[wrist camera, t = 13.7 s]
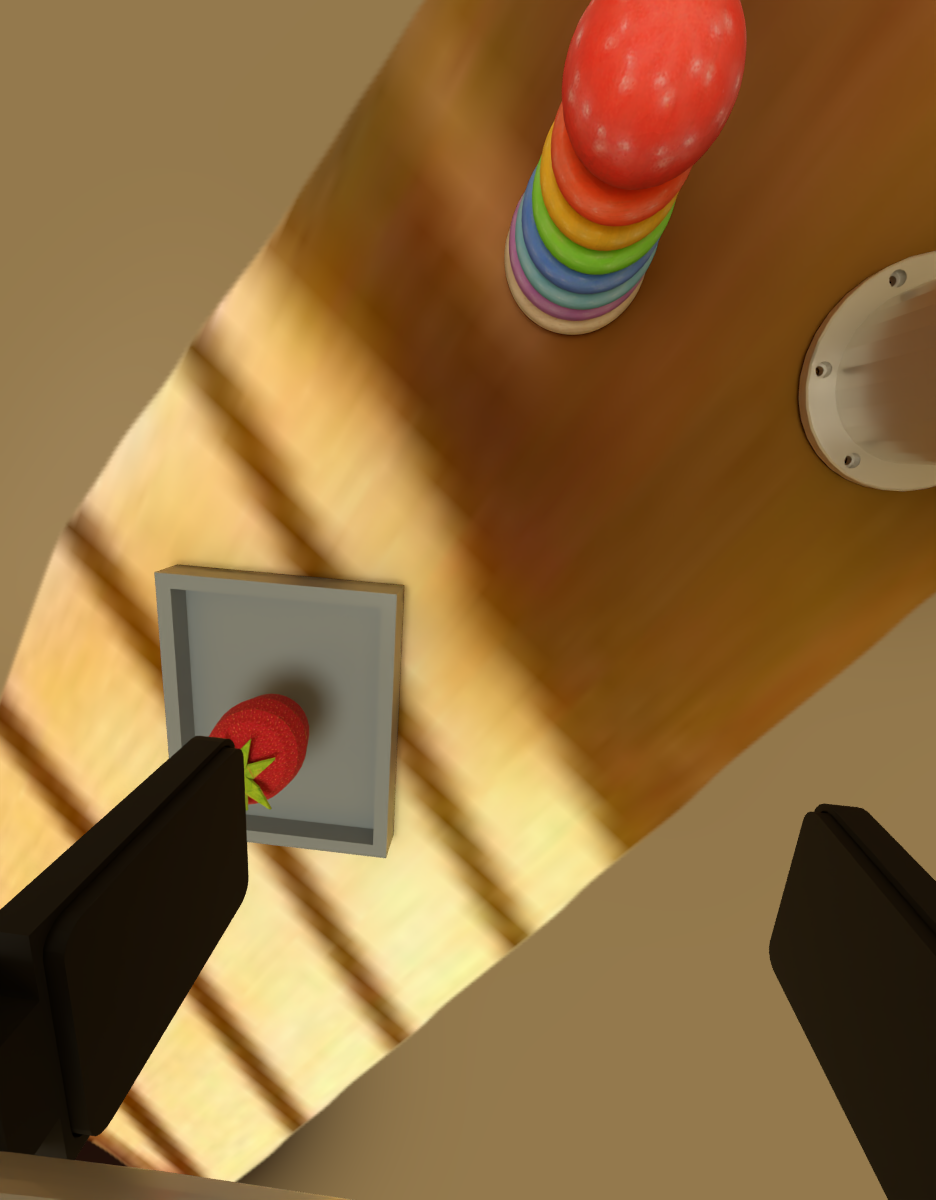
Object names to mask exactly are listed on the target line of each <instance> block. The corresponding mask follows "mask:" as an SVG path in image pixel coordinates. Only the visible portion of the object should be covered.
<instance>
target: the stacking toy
mask: <svg viewBox="0 0 936 1200" xmlns="http://www.w3.org/2000/svg"><path fill="white" fill-rule="evenodd" d="M745 57H746V24H745V18H744V14H743V10H742V6H741V2H740V0H592V1H591V2H590V4H589V5H588V7H587V9H586V10H585V12H584V14H583V15H582V17H581V19H580V21H579V23H578V25H577V28H576V30H575V32H574V35H573V37H572V40H571V43H570V46H569V50H568V53H567V57H566V62H565V66H564V72H563V81H562V102H561V104H560V107H559V109H558V112H557V115H556V118H555V121H554V122H553V124H552V126H551V128H550V130H549V133H548V135H547V138H546V141H545V144H544V147H543V152H542V155H541V158H540V160H539V163H538V165H537V166H536V168H535V170H534V171H533V173H532V176H531V178H530V180H529V182H528V185H527V188H526V190H525V192H524V194H523V195H522V197H521V199H520V201H519V203H518V205H517V207H516V209H515V212H514V215H513V218H512V222H511V226H510V229H509V232H508V235H507V239H506V244H505V272H506V278H507V281H508V285H509V288H510V290H511V293H512V295H513V297H514V299H515V301H516V303H517V304H518V306H519V307H520V309H521V310H522V311H523V312H524V313H525V314H526V316H527V317H529V318H530V319H531V320H532V321H533V322H535V323H536V324H538V325H539V326H541V327H543V328H545V329H547V330H550V331H552V332H556V333H560V334H567V335H576V334H584V333H589V332H592V331H595V330H598V329H600V328H602V327H604V326H606V325H607V324H609V323H610V322H612V321H613V320H615V319H616V318H617V317H618V316H619V315H620V314H621V313H622V312H623V311H624V310H625V309H626V308H627V307H628V306H629V305H630V303H631V302H632V300H633V299H634V297H635V296H636V294H637V292H638V290H639V288H640V286H641V284H642V281H643V278H644V276H645V272H646V270H647V269H648V267H649V265H650V263H651V261H652V259H653V257H654V254H655V252H656V249H657V246H658V241H659V239H660V237H661V235H662V233H663V231H664V229H665V227H666V226H667V224H668V221H669V219H670V216H671V214H672V211H673V208H674V204H675V200H676V198H677V196H678V193H679V190H680V189H681V187H682V186H683V184H684V182H685V181H686V179H687V177H688V175H689V173H690V170H691V168H692V166H693V164H695V163H696V162H697V161H698V160H699V159H700V158H701V157H702V156H703V155H704V153H705V152H706V151H707V150H708V149H709V147H710V146H711V145H712V143H713V142H714V141H715V140H716V138H717V137H718V136H719V134H720V132H721V130H722V129H723V127H724V125H725V123H726V121H727V119H728V117H729V115H730V113H731V111H732V109H733V106H734V104H735V101H736V99H737V96H738V93H739V89H740V86H741V82H742V77H743V72H744V65H745Z"/></svg>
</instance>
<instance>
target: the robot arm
mask: <svg viewBox="0 0 936 1200" xmlns="http://www.w3.org/2000/svg"><path fill="white" fill-rule="evenodd" d="M889 279H890V281H891V284H890V283H889ZM816 368H818V369H819V374H818V376H817V375H816ZM798 399H799V408H800V417H801V421H802V424H803V427H804V430H805V433H806V436H807V439H808V441H809V442H810V444H811V446H812V447H813V449H814V451H815V452H816V454H817V455H818V456H819V457H820V459H821V460H822V461H823V462H824V463H825V464H826V465H827V466H828V467H829V468H830V469H831V470H833V471H834V472H836V473H837V474H839V475H840V476H842V477H843V478H845V479H846V480H849V481H851V482H854V483H857V484H859V485H862V486H864V487H870V488H875V489H881V490H892V491H911V490H920V489H927V488H931V487H934V486H936V251H932V252H928V253H924V254H920V255H916V256H912V257H909V258H907V259H904V260H902V261H900V262H897V263H895V264H893V265H890V266H888V267H886V268H885V269H883V270H881V271H879V272H877V273H875V274H874V275H872V276H870V277H868V278H866V279H865V280H864V281H863V282H861V283H860V284H859V285H857V286H856V287H855V288H854V289H852V290H851V291H850V292H848V293H847V294H846V295H845V296H844V297H843V298H842V299H841V301H840V302H839V303H838V304H837V305H836V306H835V307H834V308H833V309H832V310H831V311H830V312H829V314H828V315H827V317H826V318H825V320H824V321H823V323H822V324H821V326H820V327H819V329H818V330H817V332H816V334H815V336H814V338H813V340H812V342H811V345H810V347H809V349H808V351H807V353H806V356H805V360H804V364H803V368H802V371H801V375H800V385H799V397H798ZM846 457H847V462H846V463H845V461H844V460H845V458H846ZM247 886H248V854H247V829H246V803H245V778H244V756H243V752H242V750H241V749H237V748H235V745H234V743H233V741H232V740H231V739H226V738H217V737H207V736H195V737H193V738H192V739H191V740H189V741H188V742H187V743H186V744H185V745H184V746H183V747H182V748H180V749H179V750H178V751H177V752H176V753H175V754H174V755H173V756H172V757H170V758H169V759H168V760H167V761H166V762H165V763H164V764H163V765H161V766H160V767H159V768H158V769H157V770H156V771H155V772H154V773H153V774H151V775H150V776H149V777H148V778H147V779H146V780H145V781H144V782H142V783H141V784H140V785H139V786H138V787H137V788H136V789H135V790H134V791H132V792H131V793H130V794H129V795H128V796H127V797H126V798H125V799H123V800H122V801H121V802H120V803H119V804H118V805H117V806H116V807H115V808H113V809H112V810H111V811H110V812H109V813H108V814H107V815H106V816H104V817H103V818H102V819H101V820H100V821H99V822H98V823H97V824H96V825H94V826H93V827H92V828H91V829H90V830H89V831H88V832H87V833H85V834H84V835H83V836H82V837H81V838H80V839H79V840H78V841H77V842H75V843H74V844H73V845H72V846H71V847H70V848H69V849H68V850H66V851H65V852H64V853H63V854H62V855H61V856H60V857H59V858H58V859H56V860H55V861H54V862H53V863H52V864H51V865H50V866H49V867H47V868H46V869H45V870H44V871H43V872H42V873H41V874H40V875H39V876H37V877H36V878H35V879H34V880H33V881H32V882H31V883H30V884H28V885H27V886H26V887H25V888H24V889H23V890H22V891H21V892H20V893H18V894H17V895H16V896H15V897H14V898H13V899H12V900H11V901H9V902H8V903H7V904H6V905H5V906H4V907H3V908H2V909H1V910H0V1200H351V1199H344V1198H337V1197H331V1196H323V1195H317V1194H310V1193H304V1192H297V1191H290V1190H283V1189H277V1188H270V1187H263V1186H256V1185H250V1184H243V1183H237V1182H230V1181H223V1180H216V1179H210V1178H203V1177H196V1176H190V1175H183V1174H176V1173H169V1172H163V1171H156V1170H148V1169H140V1168H132V1167H124V1166H116V1165H108V1164H100V1163H92V1162H84V1161H76V1160H75V1159H76V1157H77V1155H78V1154H79V1152H80V1151H81V1149H82V1147H83V1146H84V1144H85V1143H86V1141H87V1139H88V1138H89V1136H90V1135H91V1136H97V1135H99V1134H101V1133H102V1132H103V1131H104V1130H105V1128H106V1127H107V1126H108V1124H109V1123H110V1121H111V1120H112V1119H113V1117H114V1115H115V1114H116V1112H117V1110H118V1109H119V1107H120V1105H121V1104H122V1102H123V1100H124V1099H125V1097H126V1095H127V1094H128V1092H129V1090H130V1089H131V1087H132V1085H133V1084H134V1082H135V1080H136V1079H137V1077H138V1075H139V1074H140V1072H141V1070H142V1069H143V1067H144V1065H145V1064H146V1062H147V1060H148V1059H149V1057H150V1055H151V1054H152V1052H153V1050H154V1049H155V1047H156V1045H157V1044H158V1042H159V1040H160V1039H161V1037H162V1035H163V1034H164V1032H165V1030H166V1029H167V1027H168V1025H169V1024H170V1022H171V1020H172V1019H173V1017H174V1015H175V1014H176V1012H177V1010H178V1009H179V1007H180V1005H181V1004H182V1002H183V1000H184V999H185V997H186V995H187V994H188V992H189V990H190V989H191V987H192V985H193V984H194V982H195V980H196V979H197V977H198V975H199V974H200V972H201V970H202V969H203V967H204V965H205V964H206V962H207V960H208V959H209V957H210V955H211V954H212V952H213V950H214V949H215V947H216V945H217V944H218V942H219V940H220V939H221V937H222V935H223V934H224V932H225V930H226V929H227V927H228V925H229V924H230V922H231V920H232V919H233V917H234V915H235V914H236V912H237V910H238V909H239V907H240V905H241V903H242V901H243V899H244V897H245V894H246V891H247ZM769 954H770V961H771V965H772V968H773V970H774V972H775V974H776V976H777V978H778V980H779V982H780V984H781V986H782V988H783V990H784V992H785V994H786V996H787V998H788V1000H789V1002H790V1004H791V1006H792V1008H793V1010H794V1012H795V1014H796V1016H797V1018H798V1020H799V1022H800V1024H801V1026H802V1028H803V1030H804V1032H805V1034H806V1036H807V1038H808V1040H809V1042H810V1044H811V1046H812V1048H813V1050H814V1052H815V1054H816V1056H817V1058H818V1060H819V1062H820V1064H821V1066H822V1068H823V1070H824V1072H825V1074H826V1076H827V1078H828V1080H829V1082H830V1084H831V1086H832V1088H833V1090H834V1092H835V1094H836V1096H837V1098H838V1100H839V1102H840V1104H841V1106H842V1108H843V1110H844V1112H845V1114H846V1116H847V1118H848V1120H849V1122H850V1124H851V1126H852V1128H853V1130H854V1132H855V1134H856V1136H857V1138H858V1140H859V1142H860V1144H861V1146H862V1148H863V1150H864V1152H865V1154H866V1156H867V1158H868V1160H869V1162H870V1164H871V1166H872V1168H873V1170H874V1172H875V1174H876V1176H877V1178H878V1180H879V1182H880V1184H881V1186H882V1188H883V1190H884V1192H885V1194H886V1196H887V1198H888V1200H936V881H935V880H934V879H933V878H932V877H931V876H930V875H929V874H928V873H927V872H926V871H925V870H924V869H923V868H922V867H921V866H920V865H919V864H918V863H917V862H916V861H915V860H914V859H913V858H912V857H911V856H910V855H909V854H908V853H907V851H906V850H904V849H903V847H902V846H901V845H900V844H899V843H898V842H897V841H896V840H895V839H894V838H893V837H892V836H890V834H889V833H888V832H887V831H886V830H885V829H884V828H883V827H882V826H881V825H880V824H879V823H878V822H877V821H876V820H875V819H874V818H873V817H872V816H871V815H870V814H869V813H868V812H867V811H865V810H864V809H862V808H858V807H850V806H840V805H832V804H821V805H819V806H818V807H817V808H816V809H815V811H814V812H808V813H807V814H806V815H805V817H804V820H803V823H802V827H801V830H800V834H799V838H798V841H797V845H796V848H795V852H794V856H793V859H792V863H791V867H790V871H789V874H788V878H787V882H786V885H785V889H784V892H783V896H782V900H781V904H780V907H779V911H778V914H777V918H776V922H775V925H774V929H773V933H772V936H771V940H770V946H769Z"/></svg>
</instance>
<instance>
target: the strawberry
mask: <svg viewBox="0 0 936 1200" xmlns="http://www.w3.org/2000/svg"><path fill="white" fill-rule="evenodd" d="M209 737H217V738H226V739H231V740H232V741H233V743H234V745H235V748H237V749H241V750H242V752H243V756H244V778H245V803H246V811H247V810H249V809H248V805H249V804H257V803H260V804H262V805H263V806H265V807H266V808H268V809H269V810H271V809H272V808H271V806H270V804H269V802H268V801H267V800H268V799H270V798H272V797H274V796H275V795H276V794H278V793H279V792H280V791H281V790H283V789H284V788H285V787H286V786H287V785H288V784H289V783H290V782H291V781H292V780H293V779H294V777H295V776H296V775H297V774H298V772H299V770H300V769H301V767H302V765H303V762H304V759H305V756H306V750H307V745H308V739H309V724H308V719H307V717H306V715H305V712H304V711H303V709H302V708H301V707H300V705H298V704H297V703H296V702H295V701H294V700H292V699H290V698H288V697H287V696H283V695H280V694H264V695H260V696H257V697H254V698H252V699H249V700H246V701H244V702H241V703H239V704H237V705H236V706H234V707H232V708H231V709H230V710H228V711H227V712H226V713H225V714H224V715H223V716H222V717H221V719H220V720H219V721H218V722H217V724H216V725H215V727H214V729H213V730H212V732H211V733H210V735H209Z"/></svg>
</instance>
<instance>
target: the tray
mask: <svg viewBox="0 0 936 1200" xmlns="http://www.w3.org/2000/svg"><path fill="white" fill-rule="evenodd" d="M154 573H155V586H156V598H157V611H158V624H159V637H160V649H161V662H162V675H163V688H164V700H165V713H166V726H167V739H168V751H169V758H170V757H172V756H173V755H174V754H175V753H176V752H177V751H178V750H179V749H180V748H182V747H183V746H184V745H185V744H186V743H187V742H188V741H189V740H191V739H192V738H193V737H195V736H207V737H209V735H210V733H211V732H212V730H213V729H214V727H215V725H216V724H217V722H218V721H219V720H220V719H221V717H222V716H223V715H224V714H225V713H226V712H227V711H228V710H230V709H231V708H232V707H234V706H236V705H237V704H239V703H241V702H244V701H246V700H249V699H252V698H254V697H257V696H260V695H264V694H280V695H283V696H287V697H288V698H290V699H292V700H294V701H295V702H296V703H297V704H298V705H300V707H301V708H302V709H303V711H304V712H305V715H306V717H307V719H308V724H309V739H308V745H307V750H306V756H305V759H304V762H303V765H302V767H301V769H300V770H299V772H298V774H297V775H296V776H295V777H294V779H293V780H292V781H291V782H290V783H289V784H288V785H287V786H286V787H285V788H284V789H283V790H281V791H280V792H279V793H278V794H276V795H275V796H274V797H272V798H270V799H268V800H267V801H268V802H269V804H270V806H271V808H272V809H271V810H269V809H268V808H266V807H265V806H263V805H262V804H260V803H257V804H249V805H248V809H249V810H247V811H246V829H247V842H253V843H262V844H270V845H279V846H287V847H296V848H304V849H313V850H321V851H329V852H338V853H346V854H355V855H363V856H372V857H380V858H386V857H387V854H388V850H389V847H390V844H391V841H392V837H393V828H394V805H395V783H396V760H397V738H398V715H399V693H400V670H401V648H402V625H403V603H404V585H395V584H384V583H373V582H362V581H351V580H340V579H329V578H318V577H307V576H295V575H284V574H273V573H262V572H251V571H240V570H229V569H218V568H207V567H196V566H185V565H175V566H172V567H169V568H166V569H163V570H160V571H157V572H154Z"/></svg>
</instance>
